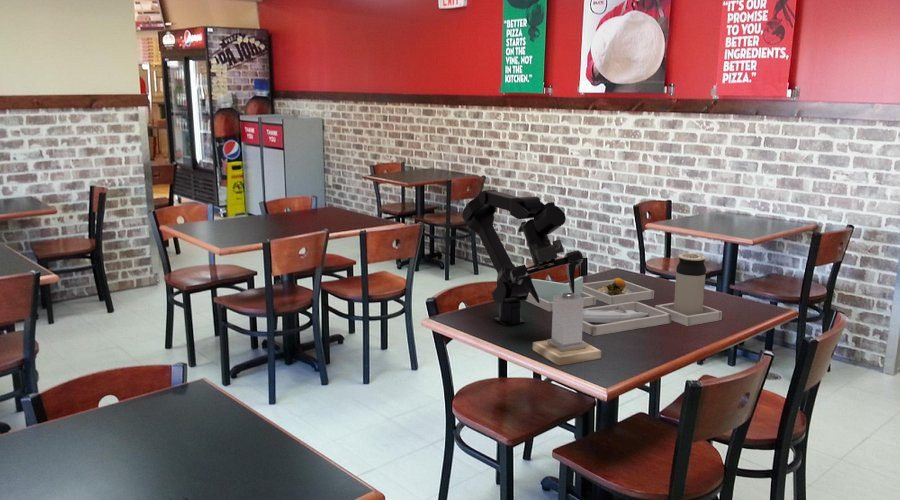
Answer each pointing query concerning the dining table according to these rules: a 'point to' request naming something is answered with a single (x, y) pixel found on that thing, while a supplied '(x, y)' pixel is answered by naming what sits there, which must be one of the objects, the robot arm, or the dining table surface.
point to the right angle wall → (556, 288)
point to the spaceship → (611, 315)
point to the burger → (615, 288)
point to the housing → (567, 322)
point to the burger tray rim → (638, 295)
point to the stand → (566, 353)
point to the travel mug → (690, 284)
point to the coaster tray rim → (548, 305)
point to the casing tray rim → (655, 319)
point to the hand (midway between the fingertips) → (556, 297)
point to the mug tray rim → (705, 317)
